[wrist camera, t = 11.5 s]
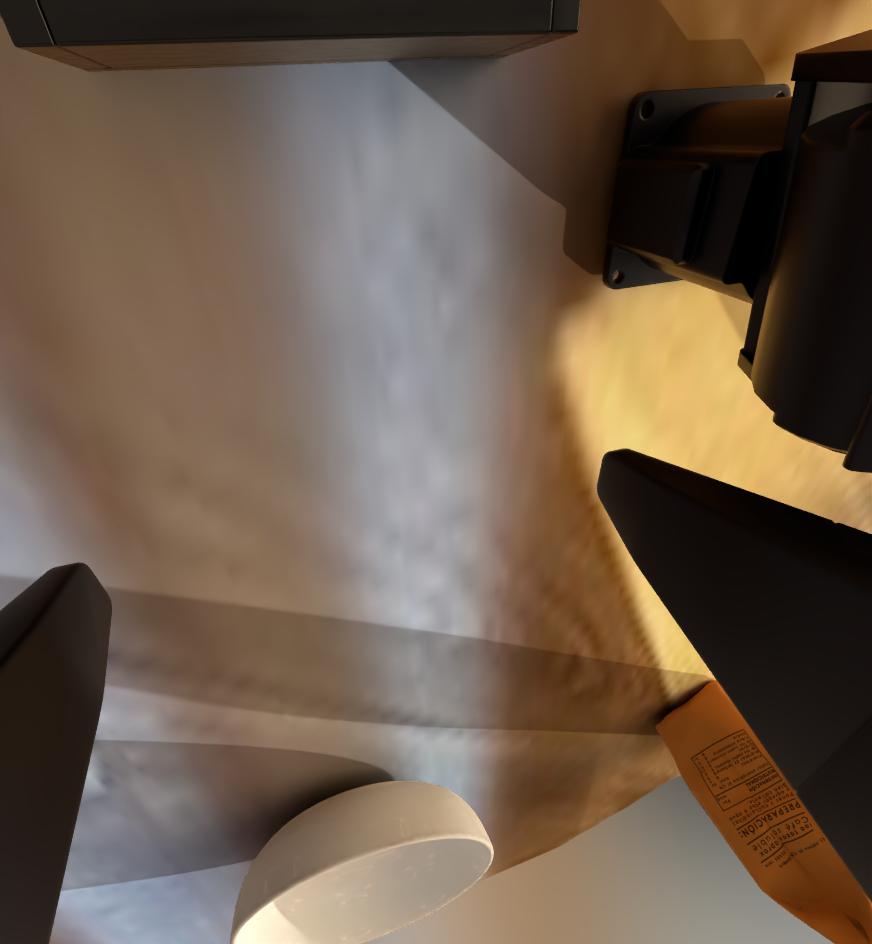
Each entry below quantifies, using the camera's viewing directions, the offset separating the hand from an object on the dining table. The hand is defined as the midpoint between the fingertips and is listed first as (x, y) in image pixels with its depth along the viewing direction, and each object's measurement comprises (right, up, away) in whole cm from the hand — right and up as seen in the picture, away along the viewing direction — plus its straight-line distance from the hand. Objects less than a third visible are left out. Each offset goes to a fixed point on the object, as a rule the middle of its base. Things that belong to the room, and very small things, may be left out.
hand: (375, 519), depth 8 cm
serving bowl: (-6, -30, +35) cm, 46 cm away
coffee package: (+30, -25, +44) cm, 59 cm away
